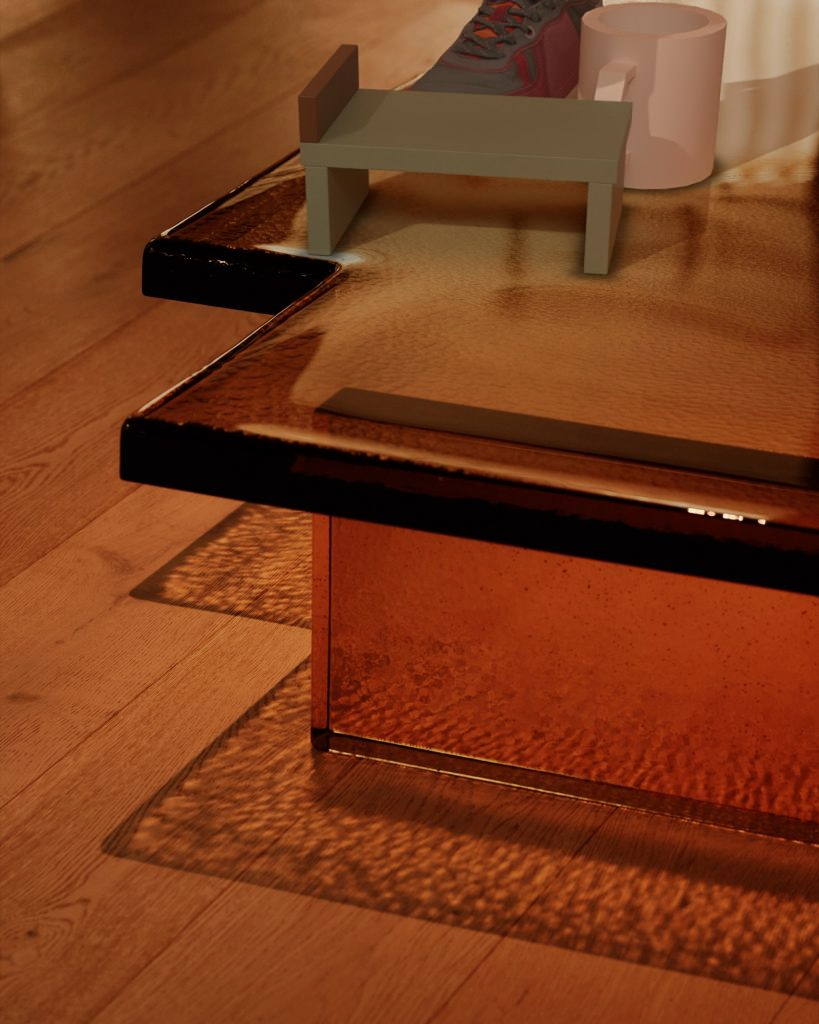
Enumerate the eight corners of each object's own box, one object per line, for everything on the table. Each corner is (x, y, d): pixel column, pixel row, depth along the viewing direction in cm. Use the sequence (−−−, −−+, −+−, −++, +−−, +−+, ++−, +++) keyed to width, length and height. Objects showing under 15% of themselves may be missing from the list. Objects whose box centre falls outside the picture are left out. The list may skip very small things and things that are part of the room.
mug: (676, 213, 111) (689, 58, 105) (538, 192, 114) (543, 42, 109) (729, 153, 121) (743, 10, 116) (600, 136, 125) (608, -4, 119)
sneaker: (373, 159, 121) (370, -3, 114) (525, 64, 142) (529, -78, 136) (497, 180, 116) (500, 13, 110) (633, 78, 138) (643, -67, 132)
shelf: (626, 208, 112) (635, 57, 106) (611, 275, 101) (621, 112, 96) (345, 191, 115) (341, 43, 109) (304, 254, 105) (297, 95, 99)
